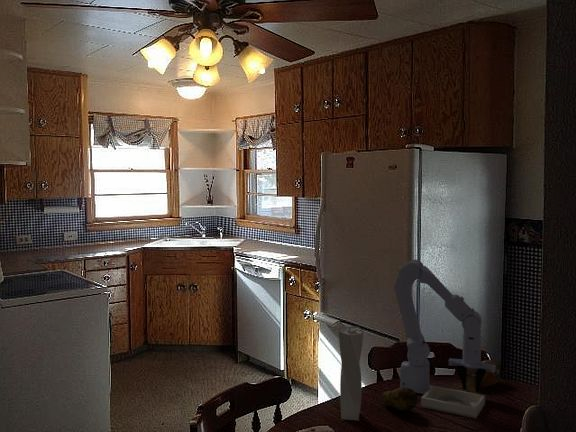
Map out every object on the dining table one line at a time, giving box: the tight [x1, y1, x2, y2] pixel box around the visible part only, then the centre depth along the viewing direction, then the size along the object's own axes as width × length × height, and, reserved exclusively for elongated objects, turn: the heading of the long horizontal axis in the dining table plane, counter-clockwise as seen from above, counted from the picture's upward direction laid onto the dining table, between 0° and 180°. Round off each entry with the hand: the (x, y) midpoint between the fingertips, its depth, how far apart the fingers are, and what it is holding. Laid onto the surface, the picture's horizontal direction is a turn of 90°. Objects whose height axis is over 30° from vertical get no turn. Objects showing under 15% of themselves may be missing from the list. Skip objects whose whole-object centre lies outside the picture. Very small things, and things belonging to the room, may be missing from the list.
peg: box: [465, 374, 478, 394], centre depth 176 cm, size 4×4×7 cm
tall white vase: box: [338, 325, 364, 422], centre depth 160 cm, size 8×8×28 cm
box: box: [420, 385, 486, 420], centre depth 168 cm, size 17×13×3 cm
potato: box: [381, 387, 419, 411], centre depth 164 cm, size 8×13×8 cm, turn 13°
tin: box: [467, 359, 502, 389], centre depth 187 cm, size 15×3×8 cm, turn 118°
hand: (471, 390), depth 176 cm, fingers closed on peg, 4 cm apart
